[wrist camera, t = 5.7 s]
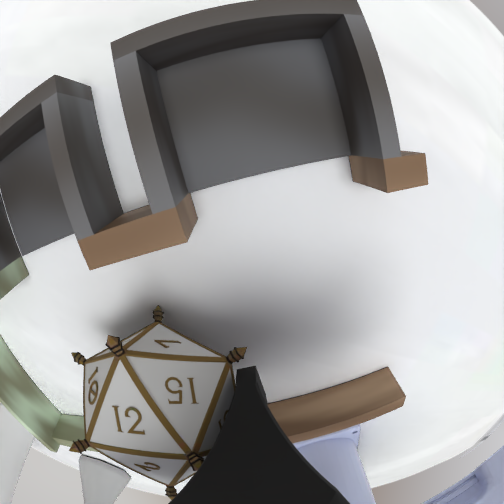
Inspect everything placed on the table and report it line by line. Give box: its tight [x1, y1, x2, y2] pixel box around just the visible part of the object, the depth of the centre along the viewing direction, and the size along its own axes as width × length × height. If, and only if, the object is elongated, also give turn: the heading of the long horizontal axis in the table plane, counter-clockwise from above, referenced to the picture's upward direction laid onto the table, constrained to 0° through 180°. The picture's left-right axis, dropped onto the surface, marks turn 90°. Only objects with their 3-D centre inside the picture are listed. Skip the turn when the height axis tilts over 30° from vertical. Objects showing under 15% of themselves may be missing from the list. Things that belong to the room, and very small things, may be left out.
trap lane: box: [0, 0, 428, 452], centre depth 11 cm, size 22×29×4 cm
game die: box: [69, 306, 247, 500], centre depth 10 cm, size 9×8×10 cm
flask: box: [79, 455, 131, 504], centre depth 17 cm, size 7×7×10 cm
